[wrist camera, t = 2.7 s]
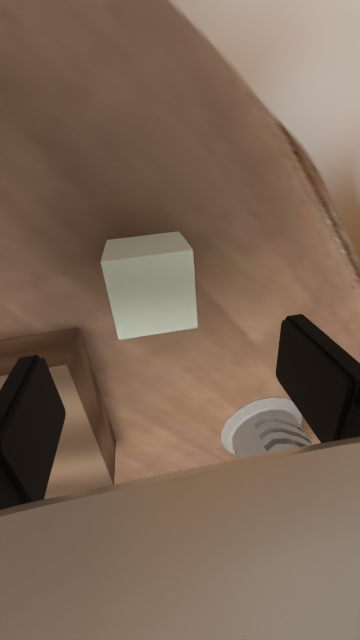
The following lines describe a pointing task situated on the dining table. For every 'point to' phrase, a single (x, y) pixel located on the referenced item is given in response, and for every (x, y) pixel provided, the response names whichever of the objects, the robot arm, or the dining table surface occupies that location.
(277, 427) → the french press
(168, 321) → the sage cube
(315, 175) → the dining table surface
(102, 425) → the walnut block
